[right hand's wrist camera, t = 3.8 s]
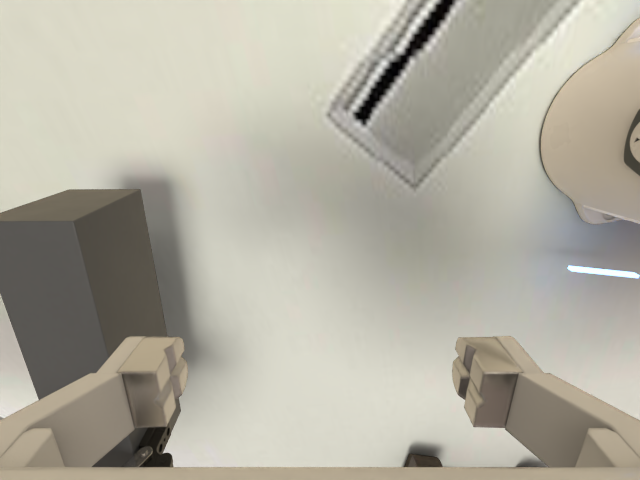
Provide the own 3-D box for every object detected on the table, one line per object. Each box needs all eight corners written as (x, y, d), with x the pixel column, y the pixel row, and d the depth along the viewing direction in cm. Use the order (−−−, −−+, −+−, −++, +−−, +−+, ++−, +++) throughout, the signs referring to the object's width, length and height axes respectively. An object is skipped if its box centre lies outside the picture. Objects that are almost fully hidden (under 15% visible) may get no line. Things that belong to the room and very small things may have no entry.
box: (68, 189, 29) (-27, 221, 21) (140, 189, 29) (73, 221, 21) (125, 411, 38) (72, 494, 29) (181, 410, 38) (143, 494, 30)
